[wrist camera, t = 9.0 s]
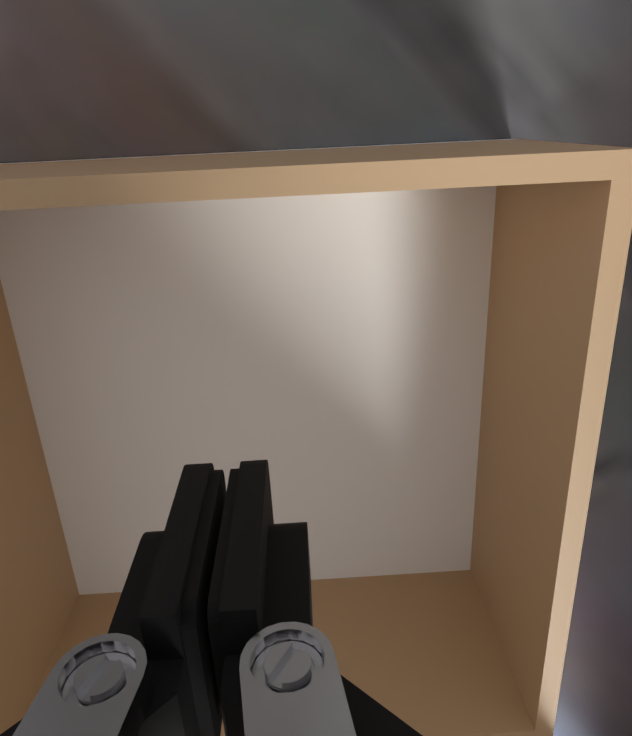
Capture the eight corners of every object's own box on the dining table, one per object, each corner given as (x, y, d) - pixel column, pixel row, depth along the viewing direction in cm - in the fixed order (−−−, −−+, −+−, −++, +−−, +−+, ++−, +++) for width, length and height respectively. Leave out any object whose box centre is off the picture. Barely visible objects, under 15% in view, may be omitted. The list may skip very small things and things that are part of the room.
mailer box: (-39, 164, 19) (-240, 191, 12) (511, 138, 20) (644, 148, 12) (72, 596, 26) (-13, 782, 19) (478, 570, 27) (551, 742, 19)
